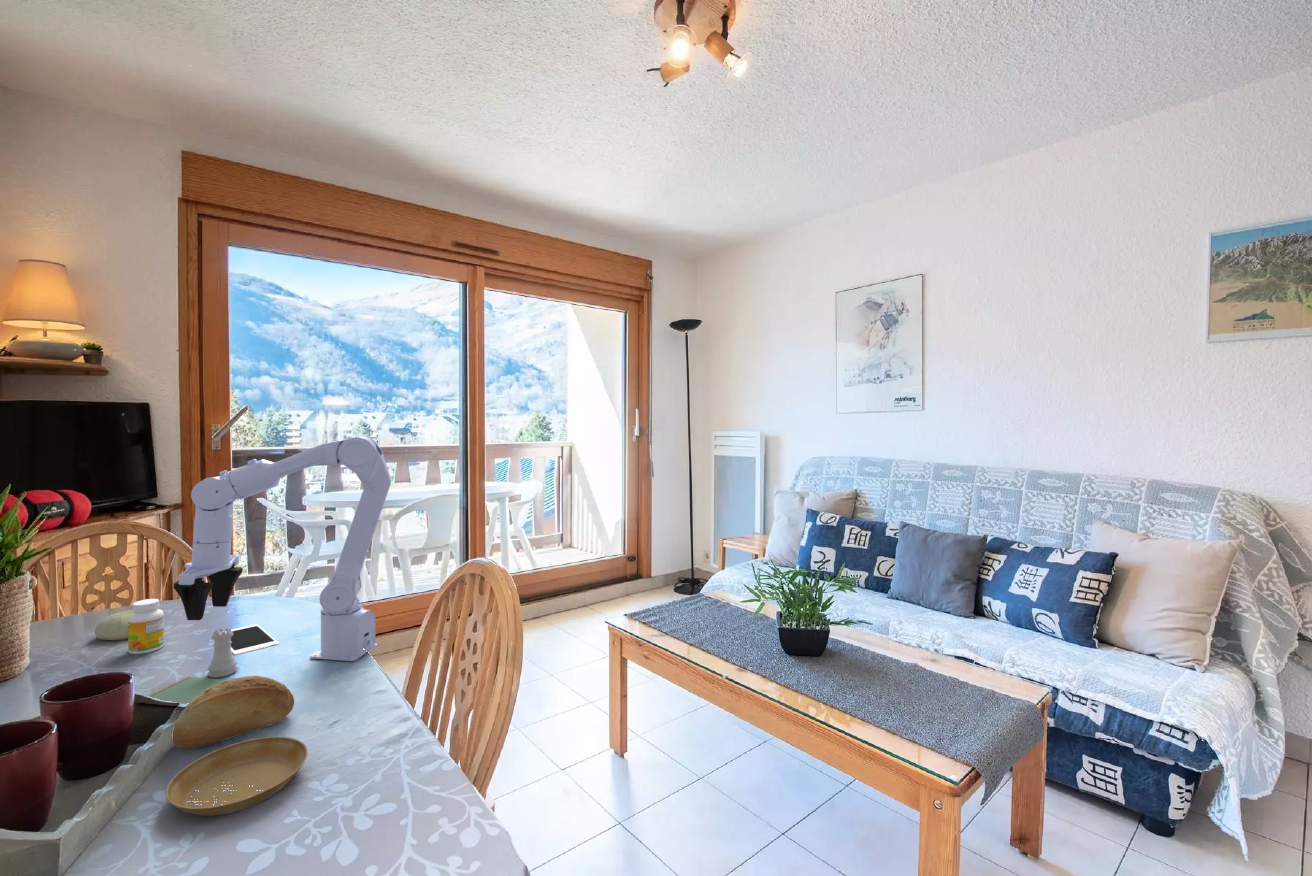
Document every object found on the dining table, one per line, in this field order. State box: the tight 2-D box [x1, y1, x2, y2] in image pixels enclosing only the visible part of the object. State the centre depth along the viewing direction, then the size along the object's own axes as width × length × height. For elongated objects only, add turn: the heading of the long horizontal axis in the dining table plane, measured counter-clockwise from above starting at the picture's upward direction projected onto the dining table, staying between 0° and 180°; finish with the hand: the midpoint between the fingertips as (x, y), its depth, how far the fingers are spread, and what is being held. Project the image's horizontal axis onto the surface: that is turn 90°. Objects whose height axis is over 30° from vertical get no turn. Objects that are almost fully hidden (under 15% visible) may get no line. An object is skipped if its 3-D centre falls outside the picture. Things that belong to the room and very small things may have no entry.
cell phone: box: [230, 623, 280, 656], centre depth 120 cm, size 8×16×1 cm, turn 49°
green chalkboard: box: [146, 675, 227, 704], centre depth 97 cm, size 12×9×1 cm
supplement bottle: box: [127, 598, 165, 655], centre depth 114 cm, size 5×5×10 cm
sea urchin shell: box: [94, 609, 134, 641], centre depth 122 cm, size 9×8×8 cm
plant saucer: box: [164, 736, 309, 817], centre depth 73 cm, size 15×15×3 cm
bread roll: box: [172, 675, 295, 750], centre depth 85 cm, size 10×15×8 cm, turn 134°
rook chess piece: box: [207, 627, 238, 679], centre depth 104 cm, size 4×4×8 cm
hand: (207, 612), depth 106 cm, fingers open, 7 cm apart
